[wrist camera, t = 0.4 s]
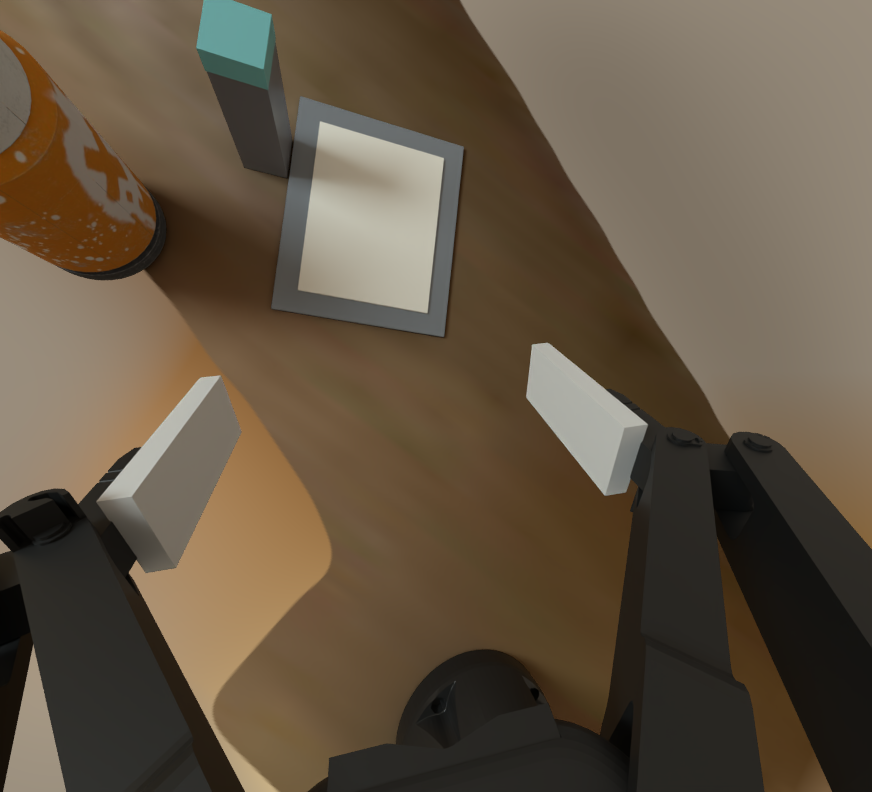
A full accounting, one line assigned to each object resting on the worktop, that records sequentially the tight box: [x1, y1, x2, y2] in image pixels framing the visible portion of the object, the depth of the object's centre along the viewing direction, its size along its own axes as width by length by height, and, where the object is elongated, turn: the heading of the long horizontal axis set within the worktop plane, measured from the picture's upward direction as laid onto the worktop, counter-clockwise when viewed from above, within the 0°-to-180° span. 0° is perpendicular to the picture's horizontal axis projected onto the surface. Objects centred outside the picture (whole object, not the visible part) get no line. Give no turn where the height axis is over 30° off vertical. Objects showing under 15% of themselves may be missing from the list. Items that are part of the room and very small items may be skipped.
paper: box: [271, 96, 464, 337], centre depth 35 cm, size 20×16×1 cm
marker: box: [196, 0, 292, 178], centre depth 27 cm, size 4×4×11 cm
